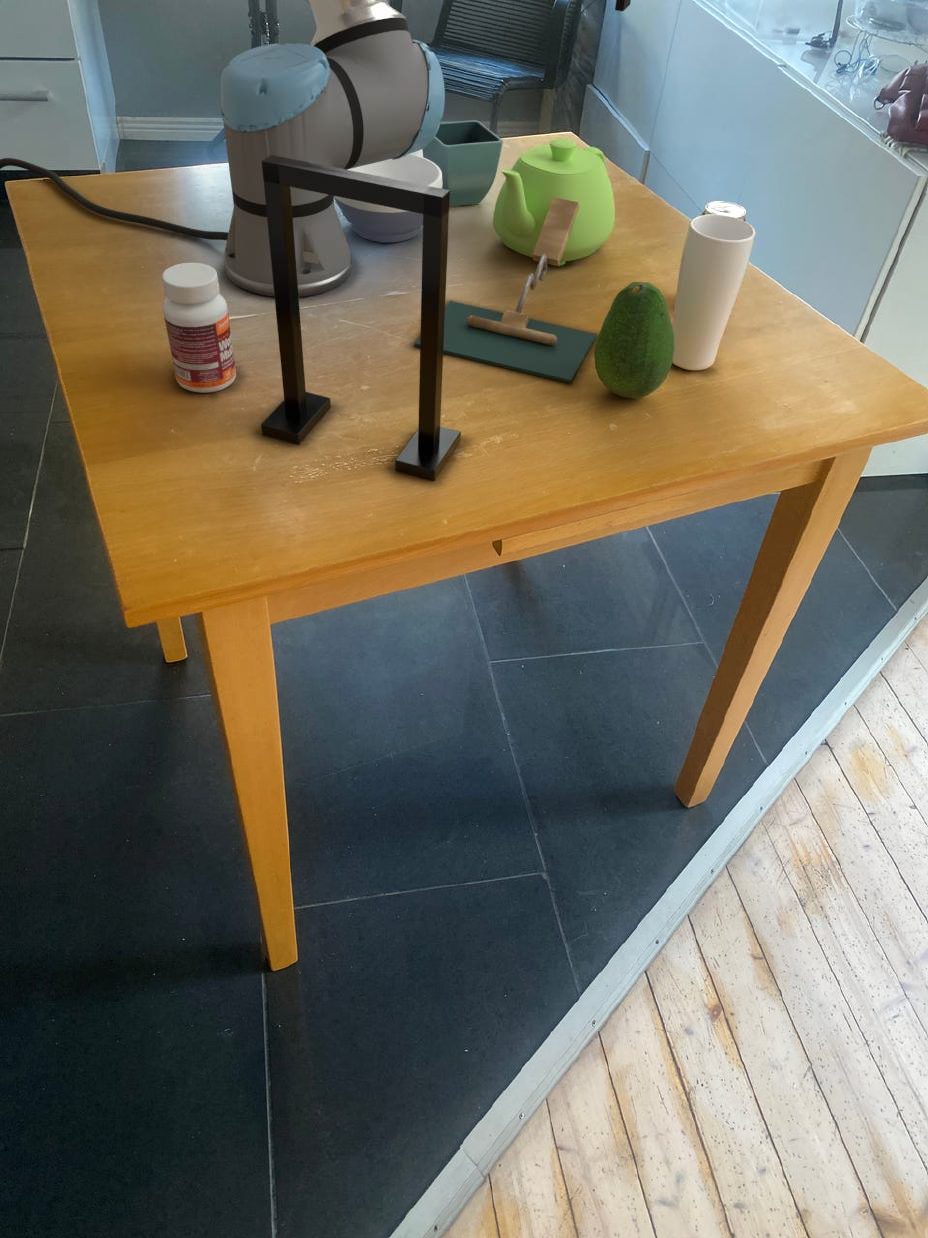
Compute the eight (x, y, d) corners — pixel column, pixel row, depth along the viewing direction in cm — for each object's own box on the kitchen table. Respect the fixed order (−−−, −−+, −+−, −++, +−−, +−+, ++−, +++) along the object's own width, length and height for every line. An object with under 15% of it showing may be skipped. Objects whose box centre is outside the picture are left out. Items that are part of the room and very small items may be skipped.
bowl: (448, 252, 122) (451, 192, 117) (335, 255, 120) (332, 193, 115) (432, 206, 132) (434, 149, 127) (327, 208, 130) (325, 149, 125)
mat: (414, 346, 105) (415, 343, 105) (450, 303, 113) (450, 300, 112) (570, 383, 102) (570, 380, 101) (596, 336, 109) (596, 333, 109)
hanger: (464, 321, 108) (520, 170, 111) (471, 346, 113) (524, 201, 116) (554, 343, 105) (609, 188, 108) (557, 367, 111) (609, 218, 114)
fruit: (651, 422, 97) (676, 313, 89) (578, 402, 99) (595, 293, 90) (671, 385, 102) (696, 279, 94) (602, 367, 104) (620, 261, 96)
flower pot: (473, 184, 139) (477, 118, 132) (499, 208, 133) (504, 140, 127) (417, 190, 136) (419, 123, 130) (441, 215, 130) (444, 146, 124)
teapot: (541, 295, 115) (554, 185, 106) (447, 256, 122) (452, 148, 112) (638, 242, 128) (657, 138, 118) (548, 208, 134) (560, 108, 125)
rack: (261, 434, 92) (230, 169, 74) (295, 398, 97) (273, 140, 79) (434, 481, 88) (444, 213, 71) (460, 441, 93) (476, 180, 75)
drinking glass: (683, 381, 103) (717, 245, 92) (647, 351, 107) (675, 218, 97) (732, 368, 106) (770, 235, 95) (695, 340, 110) (728, 209, 99)
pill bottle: (238, 392, 97) (224, 287, 89) (176, 397, 96) (156, 290, 88) (234, 361, 101) (221, 258, 93) (175, 365, 100) (156, 261, 92)
